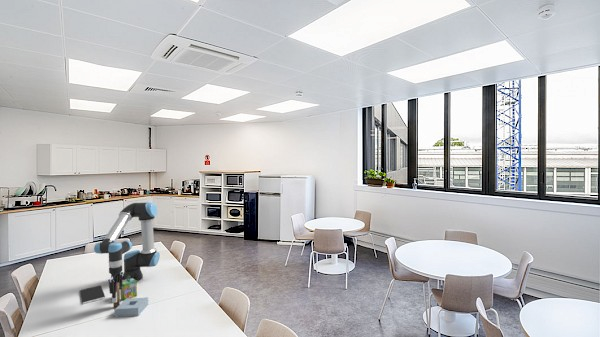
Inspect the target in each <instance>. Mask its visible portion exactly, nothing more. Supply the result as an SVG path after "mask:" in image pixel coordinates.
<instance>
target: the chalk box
mask: <svg viewBox="0 0 600 337" xmlns="http://www.w3.org/2000/svg"><path fill="white" fill-rule="evenodd" d="M128 278H129V279H128ZM137 286H138V281H136V280H135V279H133V278H131V277H130V276H127V279H126V280H122V289H120V295H121V299H120V300H122V302H123V301H124V300H125V299H128V298H137V296H138V292H137V291H138V289H137V288H138V287H137Z"/></svg>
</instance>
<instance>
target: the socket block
mask: <svg viewBox="0 0 600 337" xmlns="http://www.w3.org/2000/svg"><path fill="white" fill-rule="evenodd" d="M148 306H149V297H133V298H128V299H125V300H124V301H123V300H122V302H121V303H120V305H119V306H118V307H117V308H114V317H115V318H121V317H122V318H123V317H124V318H125V317H139V316H140V315H141V313H142V312H143V311H144V310H145V309H146V308H147V307H148Z"/></svg>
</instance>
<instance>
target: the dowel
mask: <svg viewBox="0 0 600 337" xmlns="http://www.w3.org/2000/svg"><path fill="white" fill-rule="evenodd" d="M116 292H117V302H115V303H112V304H113V309H116V308H117V307H118V306H119V305H120V304H121V303H120V302H121V301H120V300H121V299H120V295H119V282H117V286H116Z"/></svg>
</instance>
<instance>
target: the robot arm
mask: <svg viewBox="0 0 600 337" xmlns="http://www.w3.org/2000/svg"><path fill="white" fill-rule="evenodd" d="M157 215H158V208H157V205H156V204H155V203H153V202H150V201H149V202H132V203H130V204H128V205H127V206H125V207H124V208H123V209H121V210H120V212H119V213H118V218H116V220H115V222H114V223H113V225H112V227H111V228H110V230H109V231H108V232H107V234H106V235H105V236H104V238H103V240H102V241H100V242H97V243H95V245H94V246H93V251H94V253H95V254H101V255H102V254H108V267H109V268H108V274H110V279H108V286H109V287H108V288H109V294H111V303H112V304H113V303H115V302H117V292H116V286H117V282H119V295H120V289H122V280H126V279H127V276H130V277H131V278H133V279H135V280H136V281H137V282H138V281H141V280H142V279H143V277H144V273H143V272H142V269H141V268H151V267H155V266H157V265H158V263H159V261H160V258H161V257H160V255H161V254H160V252H159V251H157V248H155V238H154V234H155V233H154V223H153V222H154V220H155V217H156V216H157ZM133 218H138V221H139V222H140V230H141V245H142V250H139V249H135V250H131V249H132V248H133V242H131V241H130V240H127V239H126V240H123V241H117V240H118V238H119V237H120V236H121V234H122V232H123V231H124V229H125V228H126V226H127V224H128V222H130V221H131V220H132V219H133ZM130 250H131V251H130ZM123 254H124V255H123ZM128 279H129V278H128ZM120 300H122V299H121V295H120Z"/></svg>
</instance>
